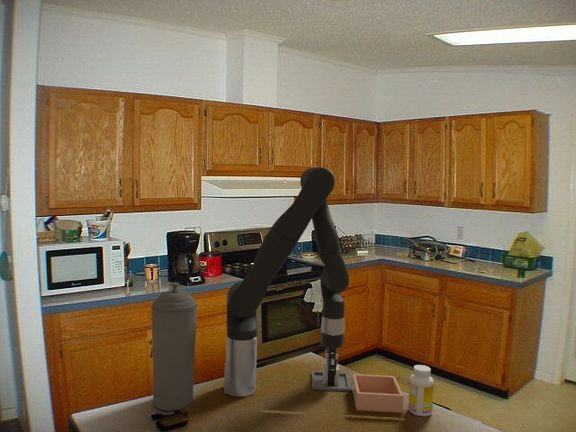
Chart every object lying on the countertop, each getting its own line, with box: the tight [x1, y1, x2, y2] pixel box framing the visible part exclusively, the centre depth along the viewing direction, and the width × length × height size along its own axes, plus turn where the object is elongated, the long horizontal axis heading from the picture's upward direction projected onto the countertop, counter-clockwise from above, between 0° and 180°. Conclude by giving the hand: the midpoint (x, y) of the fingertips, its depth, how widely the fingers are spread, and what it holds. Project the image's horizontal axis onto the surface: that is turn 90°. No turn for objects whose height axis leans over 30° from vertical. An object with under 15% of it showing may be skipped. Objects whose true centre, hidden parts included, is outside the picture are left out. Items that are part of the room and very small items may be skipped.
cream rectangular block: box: [322, 363, 340, 385], centre depth 145 cm, size 5×4×5 cm
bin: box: [351, 373, 404, 414], centre depth 134 cm, size 13×13×6 cm
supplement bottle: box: [408, 364, 435, 417], centre depth 129 cm, size 7×7×13 cm
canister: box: [150, 281, 198, 412], centre depth 129 cm, size 13×13×35 cm
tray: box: [311, 370, 352, 393], centre depth 146 cm, size 12×12×1 cm
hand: (330, 381), depth 146 cm, fingers closed on cream rectangular block, 4 cm apart
